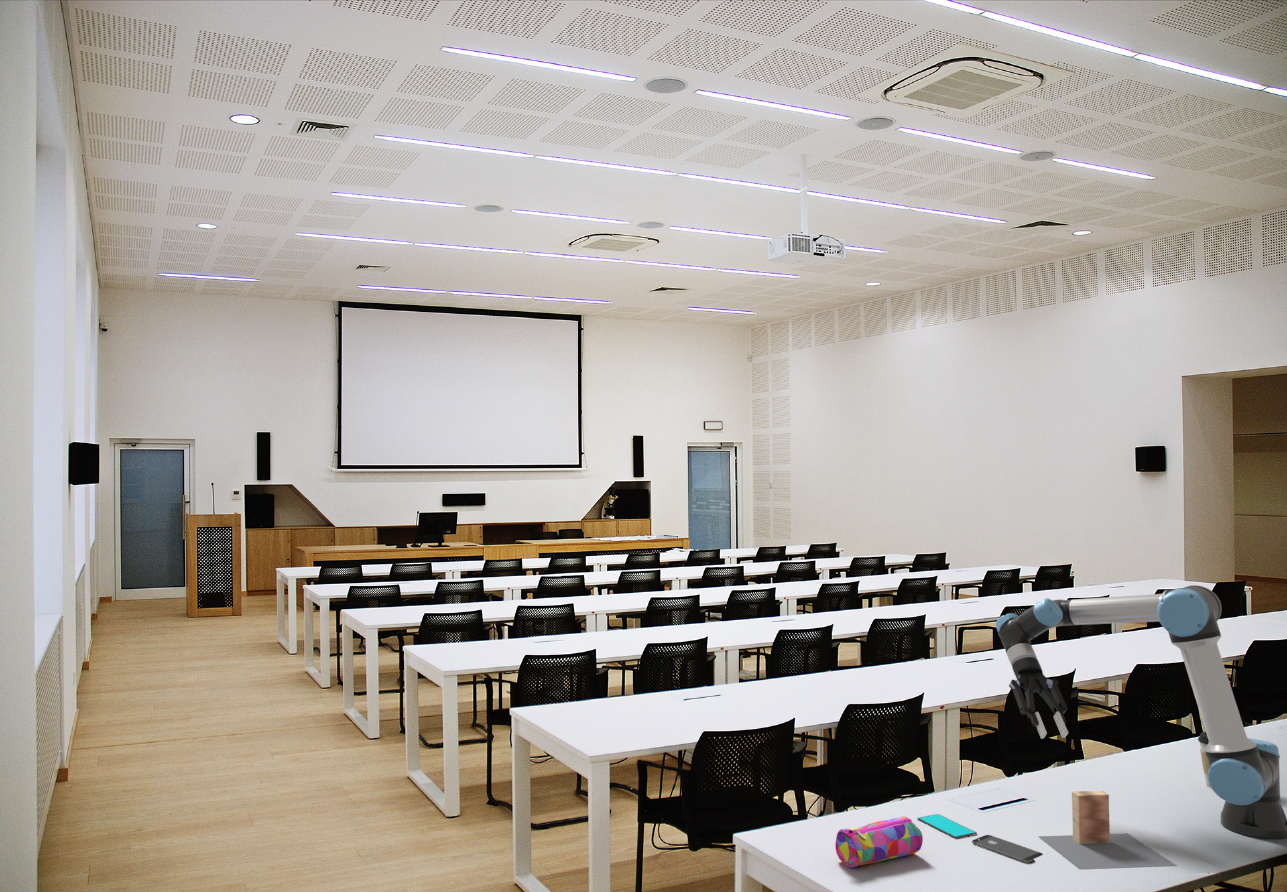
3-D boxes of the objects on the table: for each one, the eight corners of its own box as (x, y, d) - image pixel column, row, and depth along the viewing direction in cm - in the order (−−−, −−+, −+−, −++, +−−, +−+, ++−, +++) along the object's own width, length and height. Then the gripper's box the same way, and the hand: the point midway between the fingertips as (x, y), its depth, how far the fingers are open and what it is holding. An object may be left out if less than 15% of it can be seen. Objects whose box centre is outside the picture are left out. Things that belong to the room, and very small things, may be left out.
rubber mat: (1127, 835, 239) (1127, 833, 239) (1177, 868, 219) (1177, 865, 219) (1037, 838, 237) (1037, 836, 237) (1079, 871, 217) (1079, 869, 218)
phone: (1045, 857, 226) (987, 837, 239) (1045, 853, 226) (987, 833, 239) (1027, 865, 222) (969, 844, 235) (1027, 861, 222) (969, 840, 235)
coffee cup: (1237, 784, 278) (1236, 734, 278) (1237, 793, 269) (1236, 742, 270) (1199, 778, 283) (1198, 729, 284) (1198, 788, 275) (1197, 737, 275)
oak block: (1103, 837, 236) (1102, 790, 236) (1110, 843, 233) (1109, 794, 233) (1073, 839, 236) (1071, 791, 236) (1079, 844, 232) (1078, 795, 233)
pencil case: (855, 875, 217) (855, 836, 217) (830, 860, 225) (830, 823, 225) (926, 858, 226) (925, 821, 226) (900, 844, 235) (899, 808, 235)
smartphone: (955, 837, 238) (916, 817, 252) (955, 840, 238) (916, 820, 252) (977, 832, 241) (938, 813, 254) (977, 835, 241) (938, 816, 254)
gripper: (1050, 669, 272) (1082, 741, 255) (990, 670, 271) (1017, 743, 254) (1059, 654, 267) (1092, 727, 250) (998, 656, 266) (1026, 729, 249)
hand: (1054, 735), depth 252 cm, fingers open, 5 cm apart
